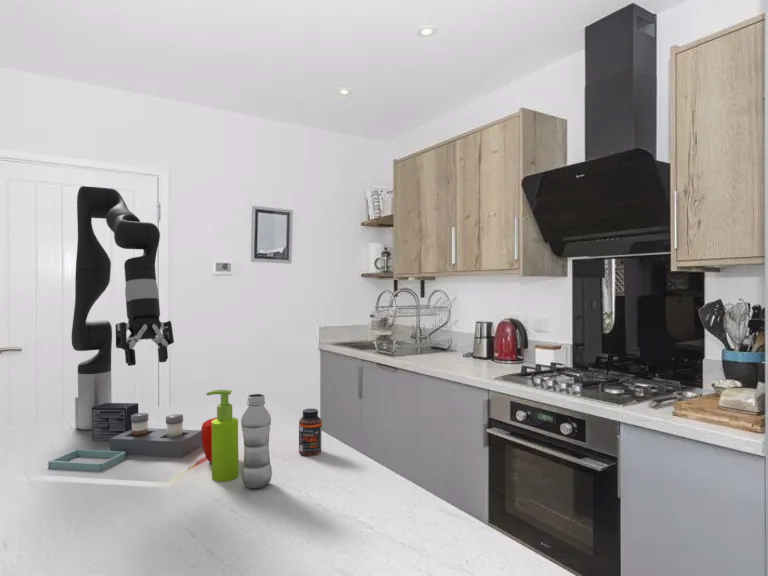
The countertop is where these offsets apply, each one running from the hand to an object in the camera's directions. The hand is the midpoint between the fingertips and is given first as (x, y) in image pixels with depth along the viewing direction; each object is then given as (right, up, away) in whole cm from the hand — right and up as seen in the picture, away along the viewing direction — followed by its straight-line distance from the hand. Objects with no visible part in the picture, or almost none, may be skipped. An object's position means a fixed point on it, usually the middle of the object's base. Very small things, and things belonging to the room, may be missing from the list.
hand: (147, 363), depth 127 cm
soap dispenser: (+21, -25, -8) cm, 34 cm away
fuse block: (-1, -25, +9) cm, 26 cm away
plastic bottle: (+30, -25, -14) cm, 42 cm away
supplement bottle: (+39, -25, +8) cm, 47 cm away
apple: (+17, -25, +3) cm, 30 cm away
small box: (-18, -25, +19) cm, 36 cm away
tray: (-14, -25, -1) cm, 29 cm away
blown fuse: (-6, -24, +9) cm, 27 cm away
